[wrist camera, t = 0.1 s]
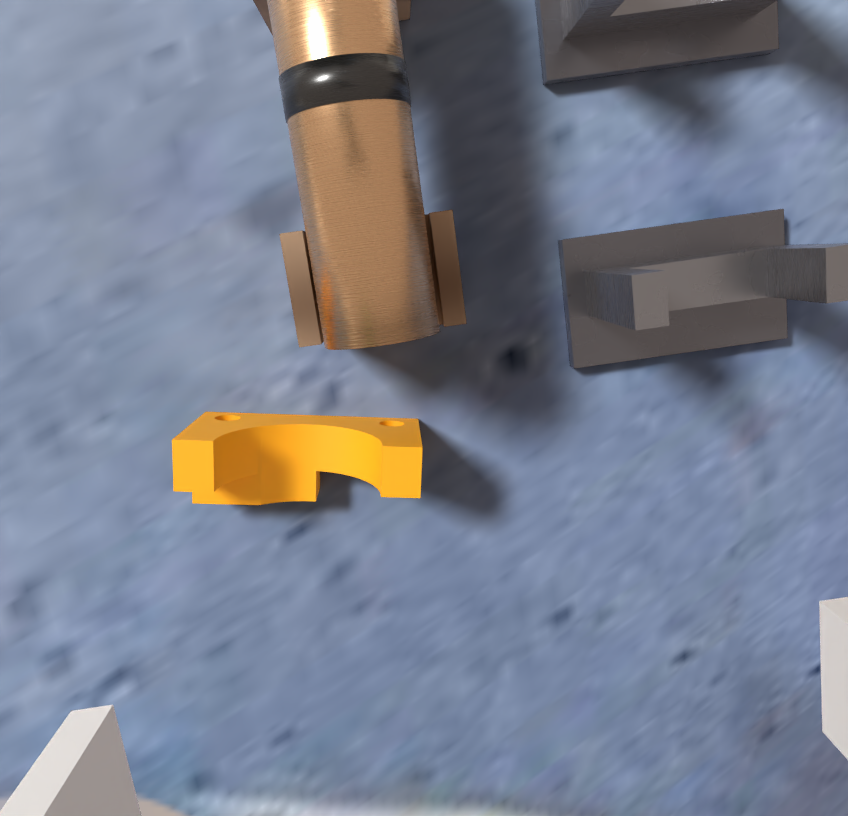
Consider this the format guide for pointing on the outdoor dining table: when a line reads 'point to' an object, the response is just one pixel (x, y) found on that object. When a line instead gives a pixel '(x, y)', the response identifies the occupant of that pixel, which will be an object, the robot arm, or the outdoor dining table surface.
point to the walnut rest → (439, 249)
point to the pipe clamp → (293, 456)
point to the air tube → (356, 169)
